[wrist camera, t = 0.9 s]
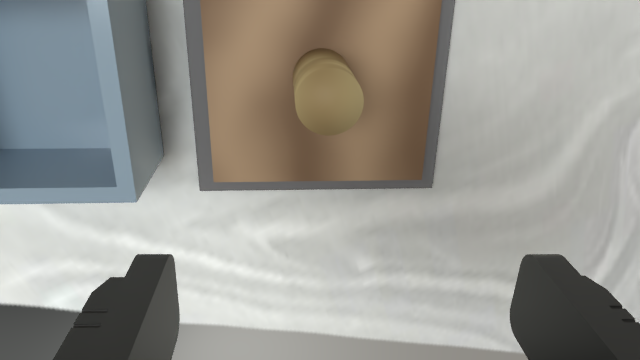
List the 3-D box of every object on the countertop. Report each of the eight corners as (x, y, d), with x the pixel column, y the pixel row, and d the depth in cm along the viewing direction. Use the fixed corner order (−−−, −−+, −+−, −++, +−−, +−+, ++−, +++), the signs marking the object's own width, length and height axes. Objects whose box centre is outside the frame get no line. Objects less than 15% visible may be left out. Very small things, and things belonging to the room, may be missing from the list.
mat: (459, -67, 25) (463, -68, 25) (429, 183, 31) (431, 187, 31) (178, -74, 24) (176, -75, 24) (201, 186, 30) (199, 190, 30)
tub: (142, -30, 25) (103, -26, 20) (163, 155, 29) (136, 202, 24) (-69, -34, 24) (-169, -31, 19) (-16, 157, 28) (-86, 205, 23)
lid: (441, -46, 25) (485, -46, 20) (417, 173, 30) (447, 221, 25) (199, -51, 24) (175, -53, 19) (215, 175, 29) (200, 225, 24)
